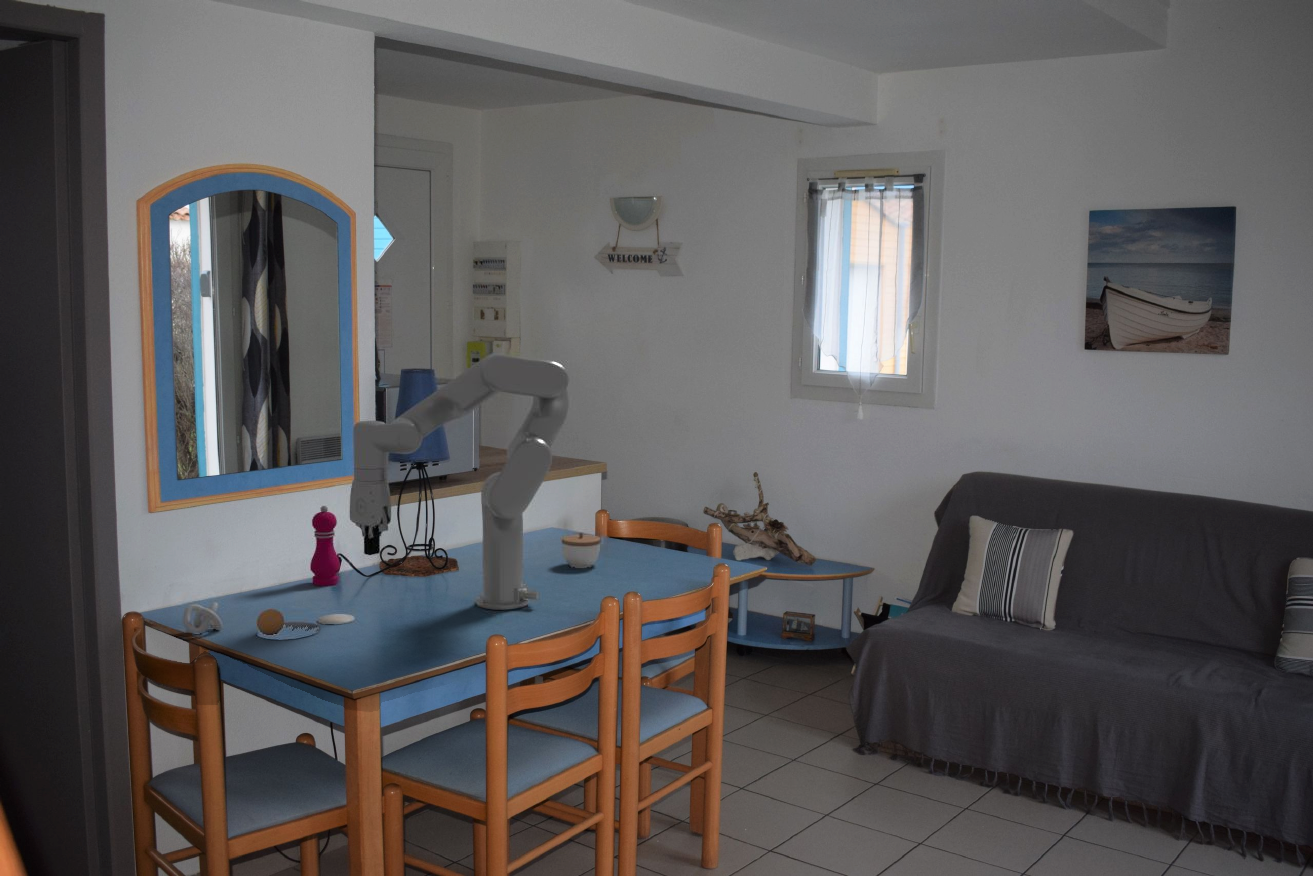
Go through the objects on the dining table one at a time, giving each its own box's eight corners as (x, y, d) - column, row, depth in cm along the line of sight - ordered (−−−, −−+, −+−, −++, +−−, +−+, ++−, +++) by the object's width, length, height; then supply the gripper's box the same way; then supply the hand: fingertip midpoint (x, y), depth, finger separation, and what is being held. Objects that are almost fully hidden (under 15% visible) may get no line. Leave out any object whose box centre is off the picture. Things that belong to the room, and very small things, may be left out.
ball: (254, 631, 228) (272, 644, 231) (274, 613, 228) (292, 626, 232) (248, 617, 232) (266, 630, 236) (268, 599, 233) (286, 612, 236)
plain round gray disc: (361, 616, 247) (361, 615, 247) (342, 626, 239) (342, 625, 239) (329, 613, 249) (329, 612, 249) (310, 623, 241) (310, 622, 241)
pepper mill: (346, 581, 279) (344, 504, 276) (328, 587, 272) (327, 509, 270) (322, 578, 281) (320, 502, 279) (304, 585, 274) (303, 507, 272)
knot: (192, 625, 238) (191, 599, 238) (230, 625, 239) (229, 599, 238) (180, 635, 231) (179, 609, 230) (218, 635, 231) (218, 609, 231)
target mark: (331, 625, 240) (331, 624, 240) (298, 642, 227) (298, 641, 227) (278, 620, 243) (278, 620, 243) (243, 637, 230) (243, 636, 230)
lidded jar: (607, 564, 302) (608, 531, 301) (585, 572, 293) (585, 538, 292) (576, 559, 308) (577, 527, 307) (553, 566, 299) (553, 533, 298)
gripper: (337, 473, 250) (338, 551, 252) (377, 480, 241) (378, 561, 243) (364, 470, 256) (365, 546, 258) (405, 476, 247) (405, 556, 249)
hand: (371, 553), depth 250 cm, fingers closed
